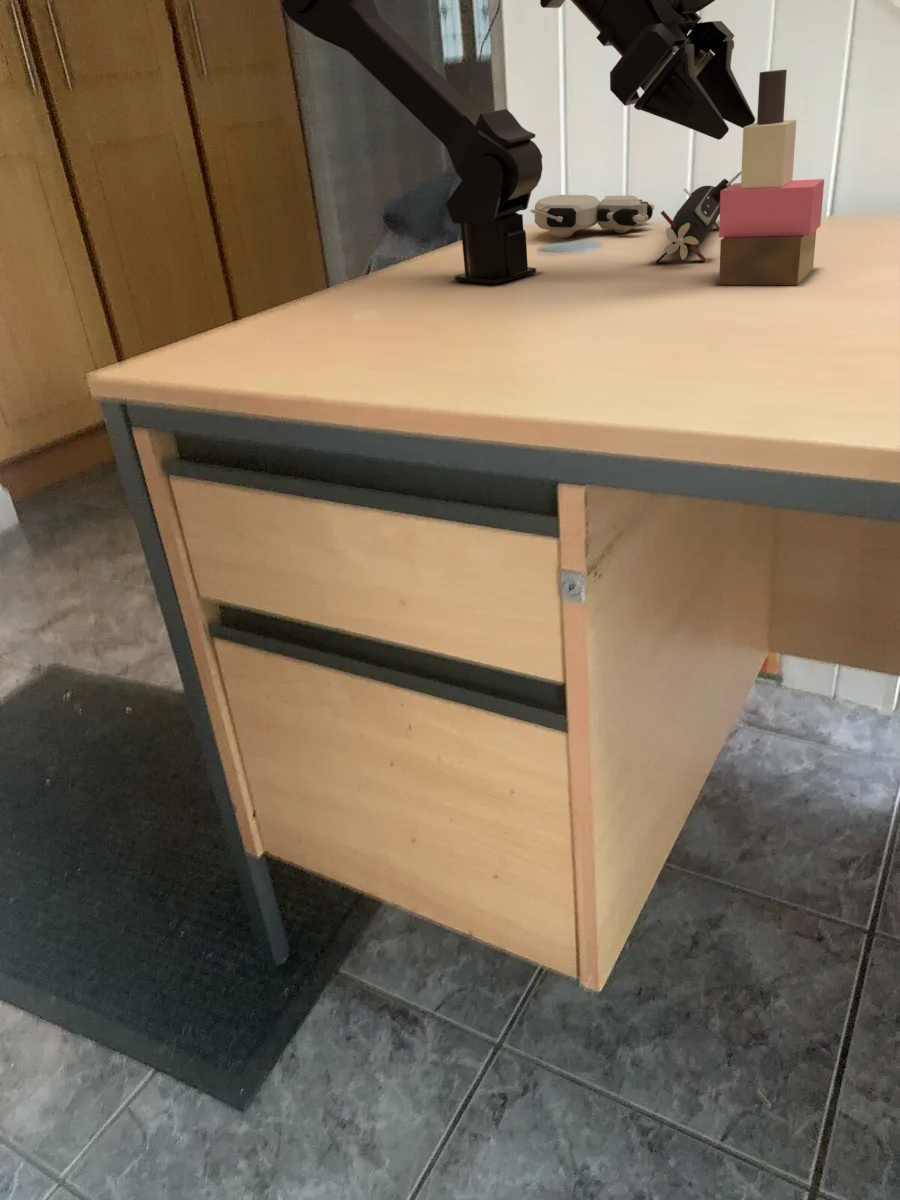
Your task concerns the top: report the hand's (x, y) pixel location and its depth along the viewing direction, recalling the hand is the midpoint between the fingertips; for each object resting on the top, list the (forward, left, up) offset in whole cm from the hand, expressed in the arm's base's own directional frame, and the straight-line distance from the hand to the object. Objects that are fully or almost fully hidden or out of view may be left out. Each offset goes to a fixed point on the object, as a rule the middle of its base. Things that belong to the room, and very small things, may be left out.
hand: (738, 129), depth 84 cm
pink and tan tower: (+3, +1, -9) cm, 9 cm away
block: (+3, +1, -13) cm, 13 cm away
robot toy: (-32, +18, -13) cm, 39 cm away
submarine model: (-14, +16, -13) cm, 25 cm away
